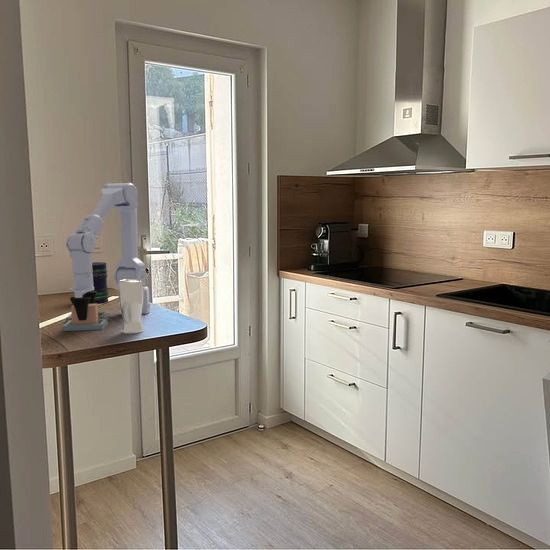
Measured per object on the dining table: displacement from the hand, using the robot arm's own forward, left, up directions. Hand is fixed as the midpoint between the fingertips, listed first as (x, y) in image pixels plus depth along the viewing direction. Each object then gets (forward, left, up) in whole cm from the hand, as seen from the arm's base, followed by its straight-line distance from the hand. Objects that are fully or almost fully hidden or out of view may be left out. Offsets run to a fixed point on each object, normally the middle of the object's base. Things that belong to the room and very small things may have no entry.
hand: (85, 317), depth 169 cm
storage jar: (+6, -46, -3) cm, 47 cm away
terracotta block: (0, 0, -3) cm, 3 cm away
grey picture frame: (0, 0, -3) cm, 3 cm away
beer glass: (-15, +9, -3) cm, 18 cm away
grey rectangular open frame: (+2, -12, -3) cm, 13 cm away
